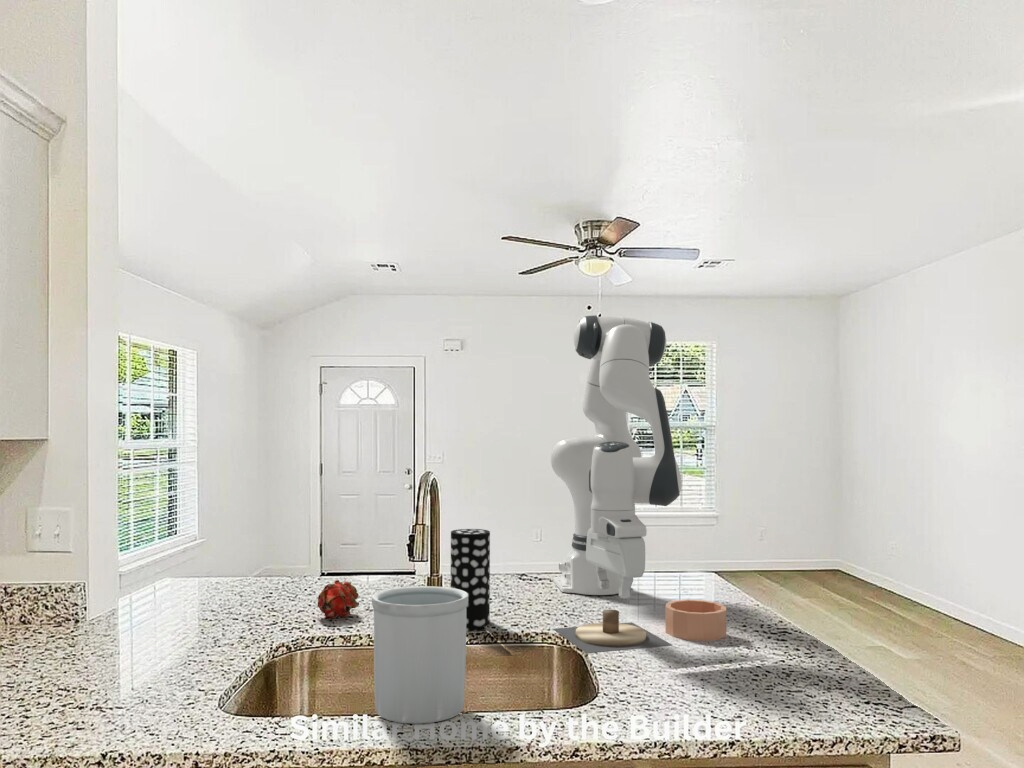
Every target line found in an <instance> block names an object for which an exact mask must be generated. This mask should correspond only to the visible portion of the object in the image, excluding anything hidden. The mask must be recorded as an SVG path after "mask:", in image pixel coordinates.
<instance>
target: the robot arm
mask: <svg viewBox="0 0 1024 768" xmlns="http://www.w3.org/2000/svg"><path fill="white" fill-rule="evenodd" d="M576 325H577V326H576V327H575V329H574V332H573V344H574V349H575V352H576V353H577V355H578V356H580V357H582V358H583V359H587V360H590V364H589V366H588V371H587V377H586V382H585V383H586V384H585V390H584V397H583V402H582V411H583V414H584V415H585V417H586V418H587V419H588V420H589V421H591V422H592V423H593V424H594V429H595V433H594V436H574V437H570V438H566V439H563V440H560V441H557V443H556V444H555V445H554V447H553V448H552V451H551V453H550V464H551V468H552V470H553V472H554V473H555V474H556V475H557V477H559V478H560V479H561V480H562V481H563V482H564V483H565V485H566V487H567V488H568V489H569V493H570V495H571V498H572V501H573V508H574V509H573V510H574V533H573V534H572V541H571V549H570V551H569V552H568V553H567V554H566V555H565V557H564V558H563V559H562V562H559V563H558V571H559V573H560V572H561V575H558V576H555V577H553V579H552V581H553V583H554V584H555V586H557V588H558V589H559V590H560V591H561V593H562V592H563V593H569V594H572V593H573V594H579V595H587V596H588V595H589V596H590V595H591V596H609V595H611V596H612V595H617V594H618V597H619V598H621V599H624V600H625V599H630V598H631V588H632V585H633V583H634V579H635V578H642V577H643V576H644V573H645V571H646V542H645V540H644V537H646V536H647V531H648V530H647V526H646V524H644V523H643V522H642V520H641V519H639V517H638V516H637V515H636V505H635V504H637V505H638V504H640V505H641V504H647V505H648V504H649V505H652V506H662V507H663V506H664V507H668V506H669V505H670V504H672V503H673V502H674V501H676V500H677V499H678V498H679V497H680V496H681V491H682V485H683V484H682V476H681V475H682V474H681V472H680V468H679V465H678V463H677V460H676V456H675V452H674V444H673V443H674V442H673V438H672V437H673V436H672V431H671V425H670V420H669V415H668V411H667V406H666V401H665V397H664V395H663V393H662V391H661V390H660V389H658V388H656V387H655V386H654V385H653V383H652V381H651V379H650V366H654V365H657V363H660V361H661V360H662V358H663V356H664V354H665V352H666V349H667V337H666V331H665V329H664V328H663V326H662V325H661V324H659V323H658V324H657V323H655V322H653V321H648V322H647V321H645V320H644V321H643V320H639V319H635V318H630V317H623V316H622V317H616V316H614V317H613V316H597V315H596V314H595V315H586V316H583V317H582V318H581V319H580V320H579V321H578V323H577V324H576ZM627 413H629V414H631V415H635V416H637V417H639V418H641V419H643V420H644V421H646V422H647V423H648V424H650V427H651V433H652V439H653V440H652V441H653V445H654V451H655V452H654V455H652V456H649V457H642V452H641V448H640V446H639V445H638V443H637V442H636V441H635V440H634V439H633V438H632V436H631V434H630V431H629V428H628V422H627V419H628V418H627V415H628V414H627Z"/></svg>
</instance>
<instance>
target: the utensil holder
mask: <svg viewBox="0 0 1024 768" xmlns="http://www.w3.org/2000/svg"><path fill="white" fill-rule="evenodd" d="M371 605H372V608H373V670H374V671H373V673H374V675H373V677H374V679H373V680H374V681H373V682H374V707H375V708H374V709H375V712H376V715H377V716H379V717H380V718H382V719H384V720H388V721H390V722H395V723H400V724H412V725H413V724H429V723H430V724H431V723H437V722H442V721H446V720H449V719H452V718H455V717H456V716H458V715H459V714H460V713H461V712H463V710H464V709H465V707H464V706H465V691H466V690H465V688H466V667H467V666H466V665H467V663H466V662H467V661H466V660H467V658H466V653H467V650H466V649H467V631H466V607H467V605H468V593H467V592H465V591H463V590H460V589H455V588H451V587H448V586H447V587H446V586H433V585H432V586H431V585H427V586H426V585H424V586H419V585H417V586H416V585H415V586H401V587H393V588H386V589H383V590H380V591H377V592H375V593H374V594H372V597H371Z"/></svg>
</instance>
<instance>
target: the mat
mask: <svg viewBox="0 0 1024 768" xmlns="http://www.w3.org/2000/svg"><path fill="white" fill-rule="evenodd" d="M621 624H628V625H633V626H636V627H639V628H641V629H643V630H645V631H646V640H645V641H644V642H642V643H640V644H636V645H631V646H619V647H612V646H599V645H593V644H588V643H585V642H582V641H580V640H578V639H577V638H576V629H577V628H578V627H579V626H573V627H572V626H570V627H560V628H559V627H558V628H552V630H553V631H554V632H556V633H558V635H560V636H561V637H563V638H564V639H565V640H567V641H569V642H570V643H571V644H573V645H574V646H575V647H577V648H579V650H581V651H583V653H585V654H593V653H605V652H614V651H616V652H617V651H627V650H637V649H649V648H650V649H651V648H659V647H660V648H661V647H670V646H671V647H672V646H673V644H672V643H670V642H668V641H666V640H665V639H662V638H661V637H659V636H657V635H655V634H654V633H652V632H650V631H648V630H646V629H645V628H643V627H641V626H640V625H638V624H636V623H634V622H632V621H631V622H621Z"/></svg>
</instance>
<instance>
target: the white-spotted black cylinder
mask: <svg viewBox="0 0 1024 768" xmlns="http://www.w3.org/2000/svg"><path fill="white" fill-rule="evenodd" d="M490 553H491V531H490V530H488V529H484V528H482V529H481V528H461V529H459V528H458V529H454V530H451V531H450V588H455V589H460V590H463V591H465V592H467V593H468V605H467V607H466V632H478V631H484V630H487V628H486V627H485V626H488V625H489V624H490V621H491V620H490V618H491V617H490V614H491V613H490V612H491V611H490V603H491V602H490V600H491V599H490V597H491V596H490V595H491V594H490V593H491V589H490V587H491V586H490V585H491V583H490V581H491V580H490V577H491V576H490V575H491V570H490V569H491V565H490V564H491V557H490V556H491V554H490Z"/></svg>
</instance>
